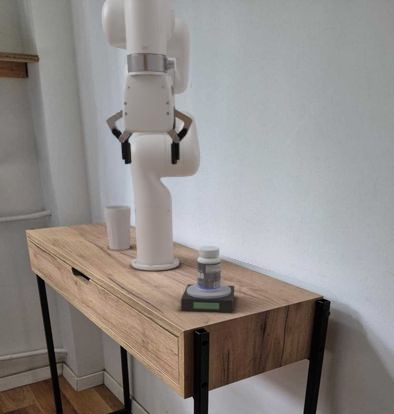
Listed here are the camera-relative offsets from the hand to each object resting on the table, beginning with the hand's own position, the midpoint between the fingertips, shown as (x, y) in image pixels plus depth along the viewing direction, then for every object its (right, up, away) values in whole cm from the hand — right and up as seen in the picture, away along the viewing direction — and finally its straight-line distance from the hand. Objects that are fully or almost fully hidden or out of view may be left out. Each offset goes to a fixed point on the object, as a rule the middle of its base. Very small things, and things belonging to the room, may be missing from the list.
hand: (151, 163), depth 99 cm
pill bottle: (+12, -26, -1) cm, 29 cm away
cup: (-14, -7, +49) cm, 52 cm away
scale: (+12, -29, 0) cm, 31 cm away
